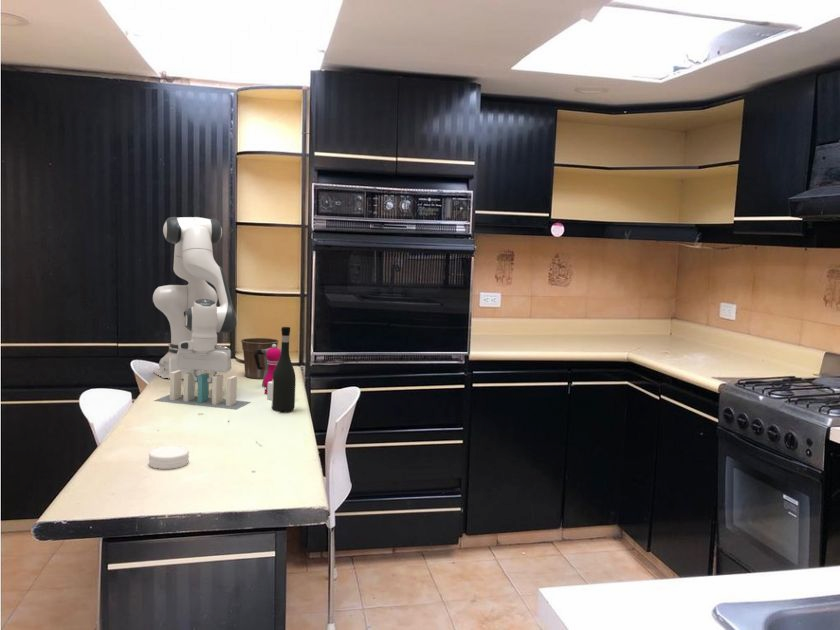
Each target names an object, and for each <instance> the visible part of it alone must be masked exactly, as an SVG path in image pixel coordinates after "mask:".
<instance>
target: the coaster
mask: <svg viewBox="0 0 840 630" xmlns="http://www.w3.org/2000/svg"><path fill="white" fill-rule="evenodd" d="M189 455H190V450H189V449H187V448H185V447H182V446H177V445H167V446H160V447H156V448H154V449H152V450H150V451H149V452H148V465H149V467H151V468H153V469H156V468H159V469H158V470H173V468H175V469H180V468H182V466H183V467H185V466H187V465H188V464H189V462H190V461H189V460H190V459H189V457H190V456H189ZM187 463H188V464H187ZM184 465H185V466H184Z"/></svg>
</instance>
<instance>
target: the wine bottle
mask: <svg viewBox="0 0 840 630" xmlns="http://www.w3.org/2000/svg"><path fill="white" fill-rule="evenodd" d="M280 331H281V348H280V349H281V355H280V359H279V361H278V363H277V366H276V368H275V371H274V374H273V381H272V401H271V409H272V410H273V411H275V412H279V413H290V412H292V411H294V409H295V405H296V404H295V403H296V382H297V381H296V372H295V369H294V366H293V363H292V360H291V356H290V335H291V327H289V326H282V327H281V330H280ZM289 411H290V412H289Z"/></svg>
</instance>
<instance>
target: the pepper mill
mask: <svg viewBox="0 0 840 630" xmlns="http://www.w3.org/2000/svg"><path fill="white" fill-rule="evenodd" d="M280 349H281V348H280ZM280 349H278V347H277V348H276V344H273V345H272V348H270V349H268V350H267V352H266V357H267V358H268V360H267V364H268V372H267V375H266V377H265V379H264V383H263V384H264V386H265V387H264V388H265V389H264V395H267V385H268V382H270V381H273V371H274V370H275V368H276V366H277V363H278V361H279V359H280V355H281V351H280Z"/></svg>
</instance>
